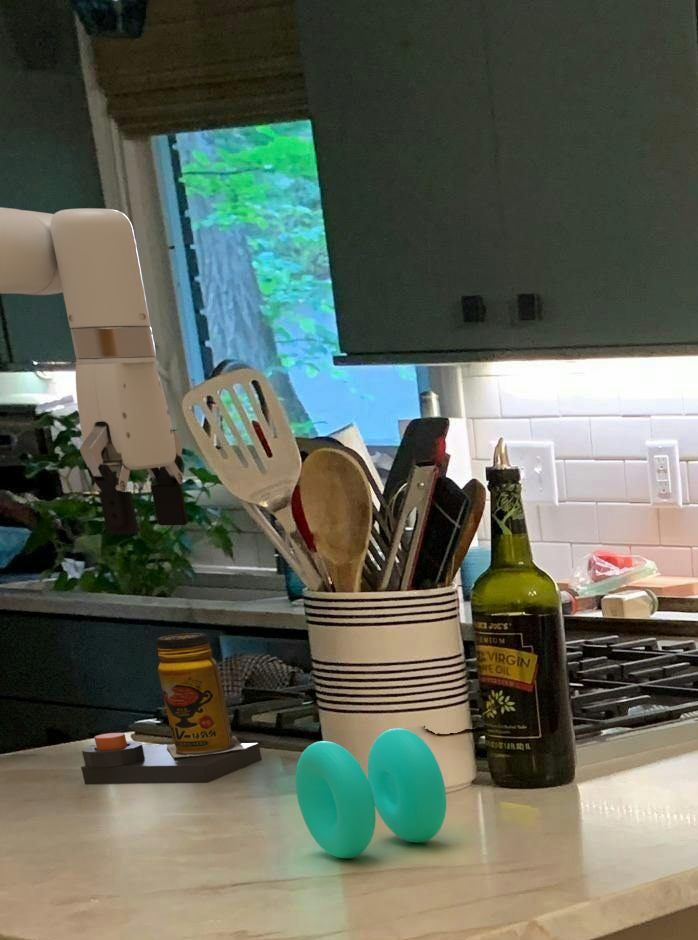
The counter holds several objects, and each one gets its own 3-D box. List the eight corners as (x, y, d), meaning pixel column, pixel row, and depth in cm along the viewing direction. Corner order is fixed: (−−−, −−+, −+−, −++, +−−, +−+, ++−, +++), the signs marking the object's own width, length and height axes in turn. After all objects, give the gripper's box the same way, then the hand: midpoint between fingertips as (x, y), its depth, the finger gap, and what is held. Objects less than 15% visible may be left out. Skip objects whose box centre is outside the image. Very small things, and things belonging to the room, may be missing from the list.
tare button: (91, 753, 203) (88, 738, 202) (107, 747, 206) (104, 732, 205) (118, 752, 202) (114, 737, 202) (133, 747, 205) (130, 732, 204)
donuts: (460, 846, 170) (442, 731, 166) (357, 869, 164) (336, 750, 160) (403, 831, 177) (384, 720, 173) (301, 852, 171) (280, 738, 166)
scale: (78, 786, 203) (70, 752, 202) (140, 762, 214) (134, 730, 213) (205, 784, 201) (198, 750, 199) (262, 760, 212) (256, 728, 211)
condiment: (174, 759, 204) (149, 642, 199) (166, 747, 211) (142, 633, 206) (245, 751, 207) (223, 635, 202) (235, 739, 214) (213, 627, 209)
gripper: (126, 348, 201) (159, 522, 208) (29, 350, 185) (68, 538, 193) (193, 346, 200) (224, 521, 207) (101, 348, 184) (137, 537, 191)
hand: (148, 529), depth 200 cm, fingers open, 9 cm apart
